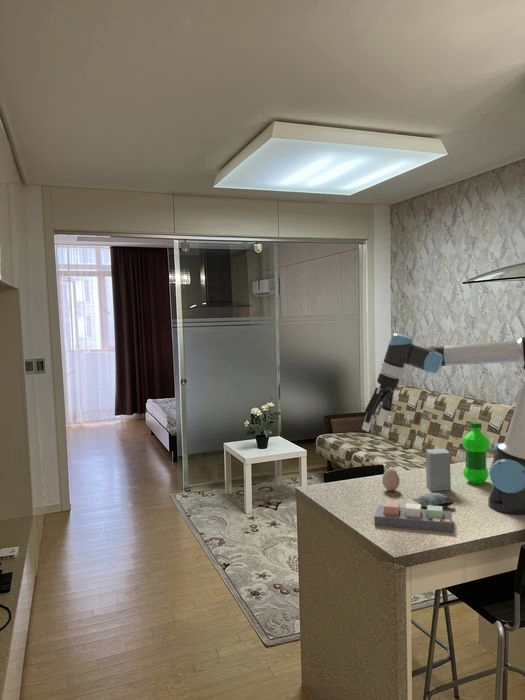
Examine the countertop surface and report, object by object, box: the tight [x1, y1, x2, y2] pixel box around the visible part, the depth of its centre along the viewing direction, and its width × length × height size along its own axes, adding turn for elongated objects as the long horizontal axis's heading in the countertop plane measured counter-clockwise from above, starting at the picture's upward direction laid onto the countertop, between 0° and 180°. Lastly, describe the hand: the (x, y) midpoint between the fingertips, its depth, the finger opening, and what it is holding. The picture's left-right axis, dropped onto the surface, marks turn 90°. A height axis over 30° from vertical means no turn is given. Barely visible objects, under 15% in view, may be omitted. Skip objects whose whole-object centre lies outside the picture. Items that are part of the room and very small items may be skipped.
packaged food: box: [412, 492, 454, 509], centre depth 194 cm, size 9×12×5 cm
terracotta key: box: [383, 501, 401, 515], centre depth 181 cm, size 5×5×4 cm
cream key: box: [405, 502, 422, 517], centre depth 179 cm, size 5×5×4 cm
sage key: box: [426, 505, 444, 519], centre depth 177 cm, size 5×5×4 cm
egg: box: [381, 467, 400, 492], centre depth 212 cm, size 7×7×9 cm
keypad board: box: [373, 504, 453, 533], centre depth 179 cm, size 25×11×3 cm, turn 72°
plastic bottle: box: [462, 421, 490, 485], centre depth 220 cm, size 10×10×25 cm
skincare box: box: [425, 448, 452, 492], centre depth 213 cm, size 8×7×16 cm
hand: (372, 427), depth 200 cm, fingers open, 13 cm apart
